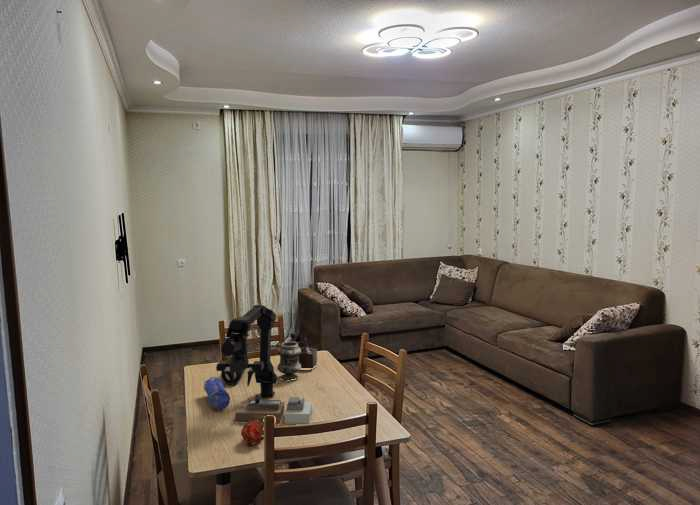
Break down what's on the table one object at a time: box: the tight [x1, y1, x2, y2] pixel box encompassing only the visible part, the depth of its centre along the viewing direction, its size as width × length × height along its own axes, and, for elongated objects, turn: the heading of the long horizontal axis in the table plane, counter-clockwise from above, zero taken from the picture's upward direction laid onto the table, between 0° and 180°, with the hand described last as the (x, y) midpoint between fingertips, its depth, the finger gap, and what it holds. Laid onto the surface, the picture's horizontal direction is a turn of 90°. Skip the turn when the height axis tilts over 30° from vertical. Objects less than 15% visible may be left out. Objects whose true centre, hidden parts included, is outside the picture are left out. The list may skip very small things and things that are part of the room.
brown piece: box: [289, 331, 318, 368], centre depth 277 cm, size 16×11×18 cm
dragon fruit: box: [240, 420, 265, 447], centre depth 189 cm, size 8×8×12 cm
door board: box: [234, 399, 285, 424], centre depth 212 cm, size 12×18×6 cm, turn 88°
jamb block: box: [283, 396, 313, 424], centre depth 212 cm, size 12×10×8 cm
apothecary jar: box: [277, 341, 301, 381], centre depth 259 cm, size 12×12×18 cm
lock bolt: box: [251, 393, 280, 407], centre depth 212 cm, size 12×2×5 cm, turn 88°
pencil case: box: [203, 376, 231, 412], centre depth 227 cm, size 22×9×10 cm, turn 23°
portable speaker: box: [220, 355, 250, 385], centre depth 261 cm, size 26×10×10 cm, turn 1°
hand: (240, 386), depth 212 cm, fingers open, 6 cm apart
